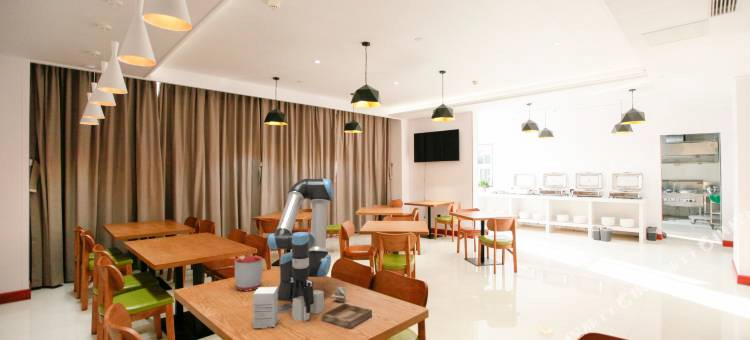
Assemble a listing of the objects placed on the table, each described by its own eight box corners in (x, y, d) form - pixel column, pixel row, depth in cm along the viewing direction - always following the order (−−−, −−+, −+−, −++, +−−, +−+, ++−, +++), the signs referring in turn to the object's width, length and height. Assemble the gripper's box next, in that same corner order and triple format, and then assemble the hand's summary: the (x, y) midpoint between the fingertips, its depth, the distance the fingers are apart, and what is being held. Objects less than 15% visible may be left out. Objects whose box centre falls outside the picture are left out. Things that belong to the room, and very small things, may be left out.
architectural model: (343, 304, 176) (343, 289, 176) (331, 303, 178) (330, 288, 178) (346, 302, 179) (346, 287, 179) (333, 301, 181) (333, 286, 181)
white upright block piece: (308, 311, 166) (308, 292, 166) (316, 308, 170) (316, 289, 170) (316, 313, 163) (316, 294, 163) (323, 310, 167) (323, 291, 168)
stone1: (292, 318, 158) (292, 298, 158) (301, 315, 162) (301, 295, 162) (300, 321, 155) (300, 300, 155) (308, 317, 159) (308, 297, 159)
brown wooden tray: (321, 320, 155) (321, 314, 155) (344, 309, 169) (344, 303, 169) (350, 329, 146) (350, 322, 146) (371, 316, 160) (371, 309, 160)
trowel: (267, 319, 158) (267, 314, 158) (258, 316, 161) (258, 311, 161) (294, 307, 171) (294, 303, 171) (285, 305, 174) (285, 301, 174)
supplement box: (258, 320, 156) (257, 286, 157) (278, 319, 157) (278, 286, 157) (252, 329, 147) (252, 293, 148) (274, 328, 148) (274, 292, 148)
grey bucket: (254, 281, 214) (254, 249, 215) (267, 288, 202) (267, 253, 202) (228, 287, 204) (228, 253, 204) (240, 294, 191) (240, 258, 191)
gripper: (279, 265, 161) (279, 315, 161) (310, 271, 150) (310, 325, 150) (291, 262, 168) (292, 310, 167) (322, 268, 156) (322, 319, 156)
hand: (300, 317), depth 158 cm, fingers open, 7 cm apart
